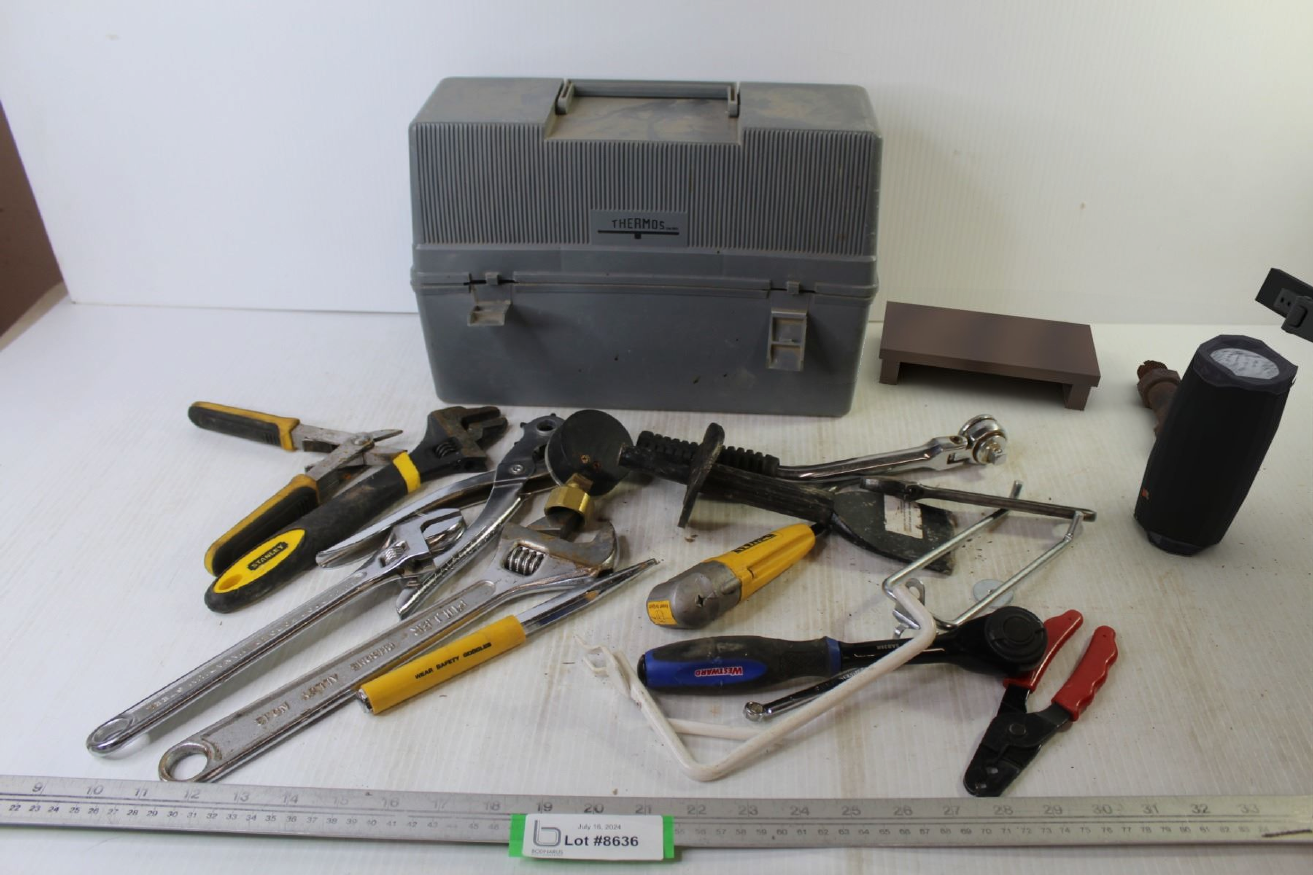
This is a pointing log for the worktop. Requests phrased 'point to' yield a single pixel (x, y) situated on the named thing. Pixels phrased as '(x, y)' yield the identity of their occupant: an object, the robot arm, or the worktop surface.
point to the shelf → (990, 346)
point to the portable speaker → (1212, 442)
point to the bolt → (1157, 388)
